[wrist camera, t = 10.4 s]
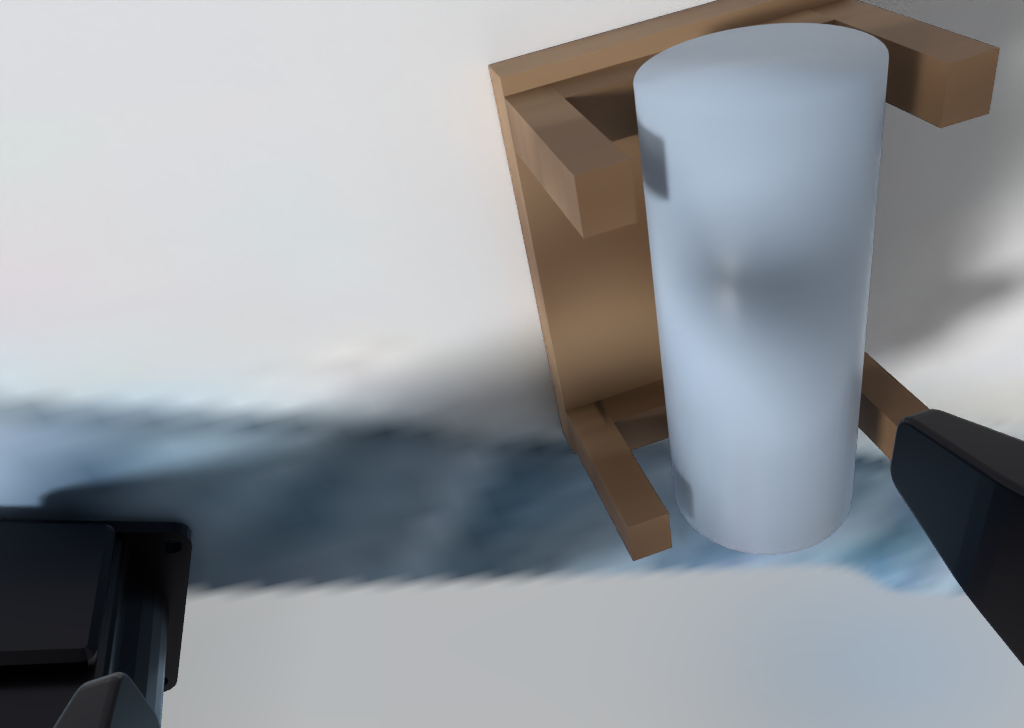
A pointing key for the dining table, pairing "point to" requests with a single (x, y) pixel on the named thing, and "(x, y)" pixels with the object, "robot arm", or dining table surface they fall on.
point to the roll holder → (624, 230)
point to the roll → (763, 270)
